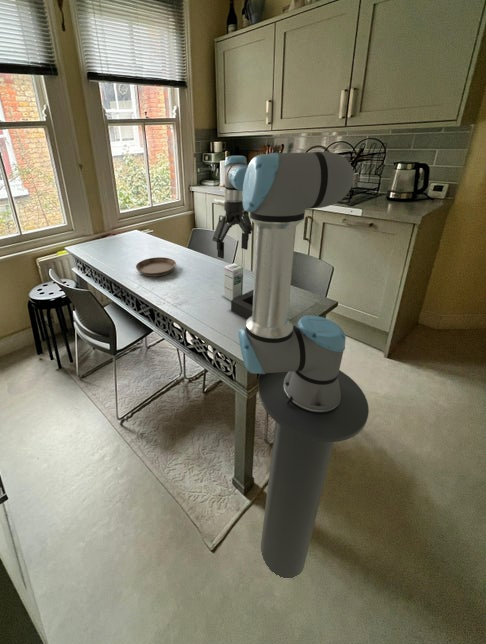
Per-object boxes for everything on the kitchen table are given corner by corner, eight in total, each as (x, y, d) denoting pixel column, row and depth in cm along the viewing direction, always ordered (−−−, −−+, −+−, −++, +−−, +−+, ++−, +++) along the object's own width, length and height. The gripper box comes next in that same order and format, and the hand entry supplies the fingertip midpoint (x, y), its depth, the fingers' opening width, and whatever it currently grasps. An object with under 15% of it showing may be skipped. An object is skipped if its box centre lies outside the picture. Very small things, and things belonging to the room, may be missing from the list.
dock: (257, 325, 116) (258, 314, 114) (230, 311, 126) (231, 300, 124) (279, 312, 124) (280, 301, 122) (253, 299, 133) (253, 289, 131)
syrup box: (232, 301, 132) (233, 270, 126) (223, 296, 137) (223, 265, 131) (242, 297, 135) (243, 266, 129) (232, 292, 140) (233, 262, 134)
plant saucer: (128, 270, 165) (128, 264, 163) (160, 259, 177) (159, 253, 176) (151, 282, 151) (151, 276, 149) (184, 270, 163) (184, 264, 162)
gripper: (249, 193, 127) (246, 243, 136) (202, 204, 113) (203, 258, 122) (264, 196, 122) (260, 247, 131) (217, 207, 108) (216, 264, 117)
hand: (232, 253), depth 127 cm, fingers open, 13 cm apart
